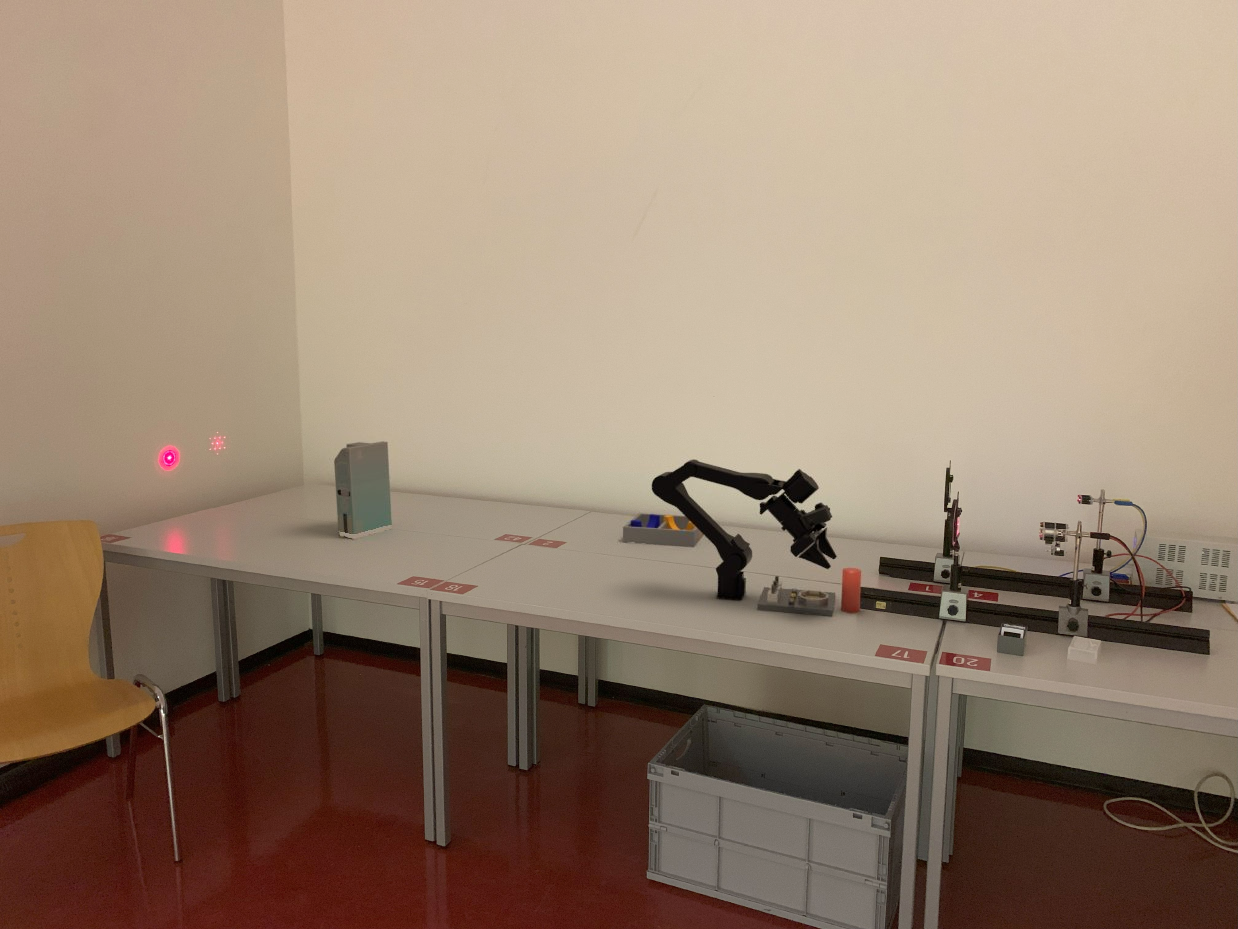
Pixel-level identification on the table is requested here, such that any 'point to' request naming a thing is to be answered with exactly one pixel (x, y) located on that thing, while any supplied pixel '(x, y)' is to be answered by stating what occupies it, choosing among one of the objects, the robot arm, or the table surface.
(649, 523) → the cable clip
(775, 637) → the table surface
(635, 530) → the parts tray
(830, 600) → the grey fixture base plate
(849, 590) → the cap
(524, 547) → the table surface
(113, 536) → the table surface
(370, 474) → the device
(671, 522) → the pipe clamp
